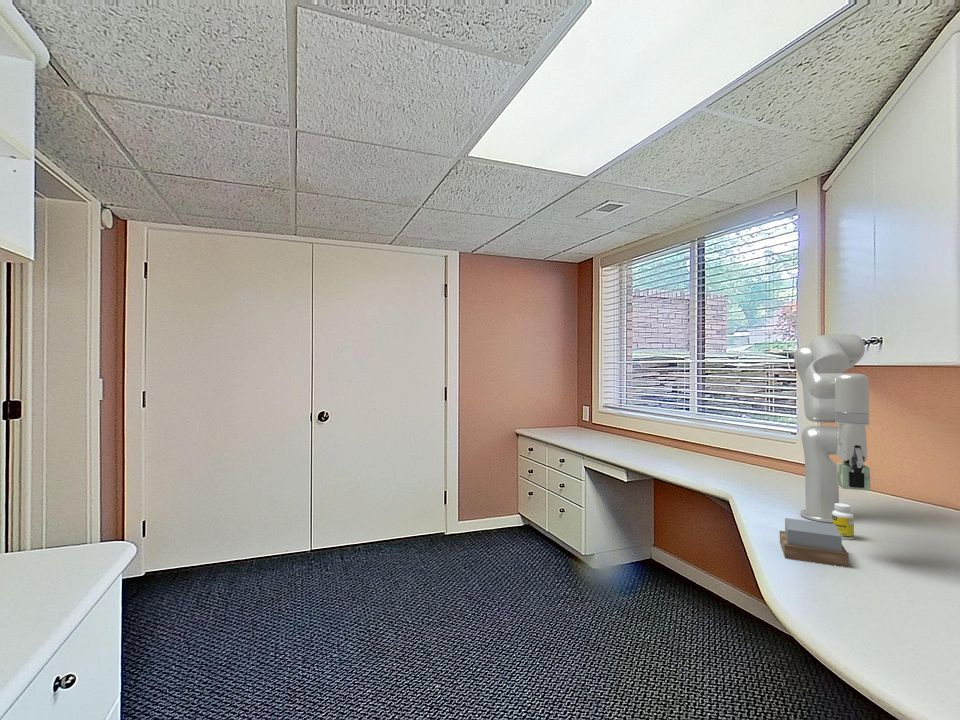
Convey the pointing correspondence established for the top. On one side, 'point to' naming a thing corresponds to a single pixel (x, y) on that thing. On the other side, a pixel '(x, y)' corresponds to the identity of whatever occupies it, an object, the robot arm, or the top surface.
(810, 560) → the tower base block
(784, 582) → the top surface
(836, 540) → the tower top block
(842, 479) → the sage cube
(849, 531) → the supplement bottle
